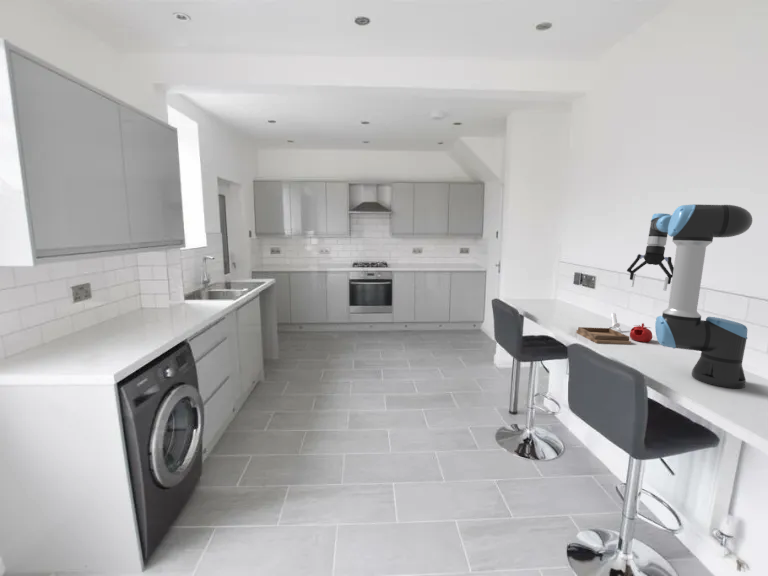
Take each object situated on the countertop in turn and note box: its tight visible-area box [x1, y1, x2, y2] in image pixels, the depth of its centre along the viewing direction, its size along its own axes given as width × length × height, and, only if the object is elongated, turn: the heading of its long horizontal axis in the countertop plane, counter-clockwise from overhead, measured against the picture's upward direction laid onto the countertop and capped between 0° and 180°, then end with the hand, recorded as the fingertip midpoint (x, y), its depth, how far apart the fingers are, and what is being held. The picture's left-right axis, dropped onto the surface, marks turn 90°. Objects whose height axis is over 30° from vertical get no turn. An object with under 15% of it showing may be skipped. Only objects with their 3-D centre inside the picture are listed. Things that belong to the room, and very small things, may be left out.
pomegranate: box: [629, 322, 653, 343], centre depth 195 cm, size 10×10×9 cm
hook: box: [606, 312, 622, 333], centre depth 216 cm, size 8×12×7 cm
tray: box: [575, 326, 632, 345], centre depth 197 cm, size 20×17×4 cm
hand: (648, 288), depth 188 cm, fingers open, 13 cm apart
